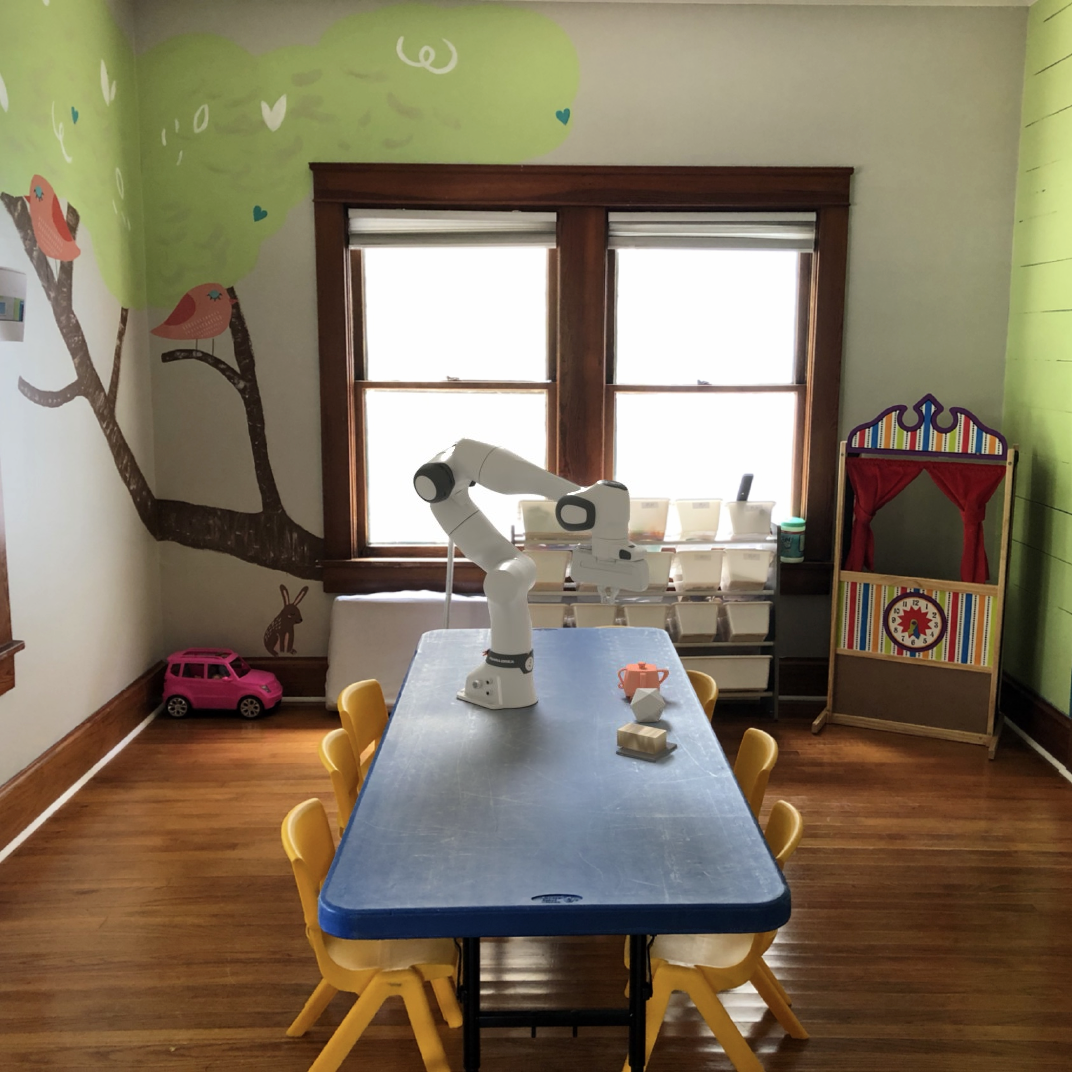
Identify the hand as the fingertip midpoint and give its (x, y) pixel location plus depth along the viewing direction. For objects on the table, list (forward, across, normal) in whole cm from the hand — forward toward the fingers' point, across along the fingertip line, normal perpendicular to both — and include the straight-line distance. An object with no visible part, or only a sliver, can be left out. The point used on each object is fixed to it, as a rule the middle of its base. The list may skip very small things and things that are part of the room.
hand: (607, 604), depth 255 cm
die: (+32, +5, +14) cm, 36 cm away
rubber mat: (+32, +15, -5) cm, 36 cm away
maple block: (+30, +8, -5) cm, 31 cm away
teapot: (+33, -5, +31) cm, 45 cm away
